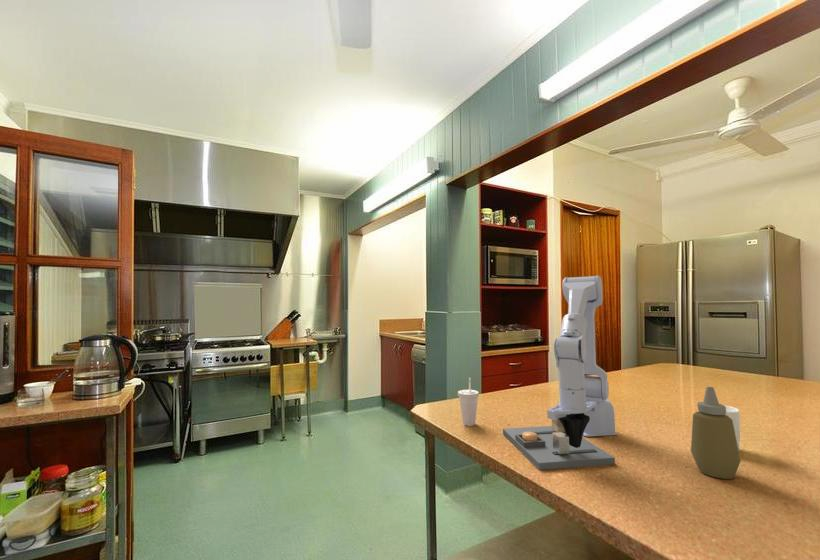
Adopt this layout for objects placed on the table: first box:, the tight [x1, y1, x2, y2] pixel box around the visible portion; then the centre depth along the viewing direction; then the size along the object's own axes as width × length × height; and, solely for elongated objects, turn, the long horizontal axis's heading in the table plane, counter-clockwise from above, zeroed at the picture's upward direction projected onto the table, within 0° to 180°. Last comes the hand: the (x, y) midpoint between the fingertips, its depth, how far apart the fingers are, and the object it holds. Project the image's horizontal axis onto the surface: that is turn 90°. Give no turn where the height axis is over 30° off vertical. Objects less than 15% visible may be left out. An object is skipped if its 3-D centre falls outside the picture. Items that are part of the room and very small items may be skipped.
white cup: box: [723, 404, 741, 452], centre depth 89 cm, size 8×8×10 cm
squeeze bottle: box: [690, 386, 741, 480], centre depth 77 cm, size 8×8×18 cm
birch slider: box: [551, 418, 565, 432], centre depth 98 cm, size 2×3×4 cm
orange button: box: [522, 432, 537, 442], centre depth 91 cm, size 4×4×2 cm
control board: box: [502, 425, 616, 471], centre depth 91 cm, size 18×22×3 cm
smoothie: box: [457, 377, 479, 427], centre depth 111 cm, size 6×6×14 cm
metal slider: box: [552, 432, 570, 454], centre depth 84 cm, size 2×3×4 cm
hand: (574, 445), depth 85 cm, fingers closed
